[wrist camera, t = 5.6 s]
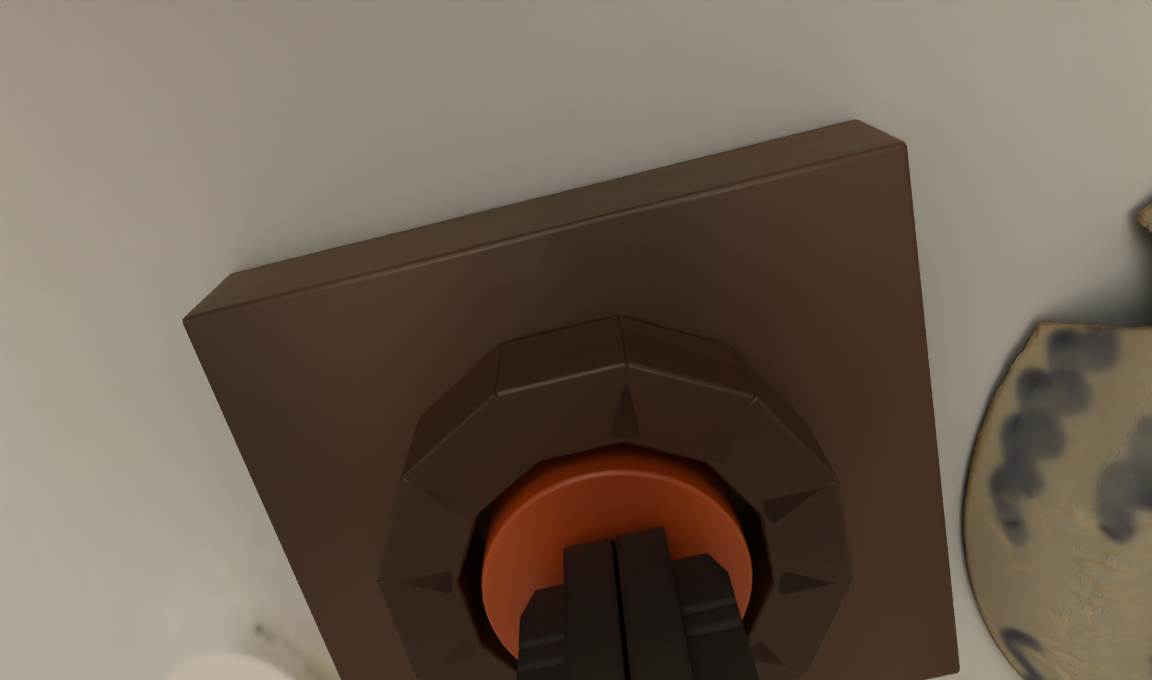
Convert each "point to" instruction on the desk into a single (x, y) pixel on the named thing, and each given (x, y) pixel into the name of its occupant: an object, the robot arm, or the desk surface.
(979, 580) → the decorative bowl
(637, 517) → the button
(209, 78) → the desk surface
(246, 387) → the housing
